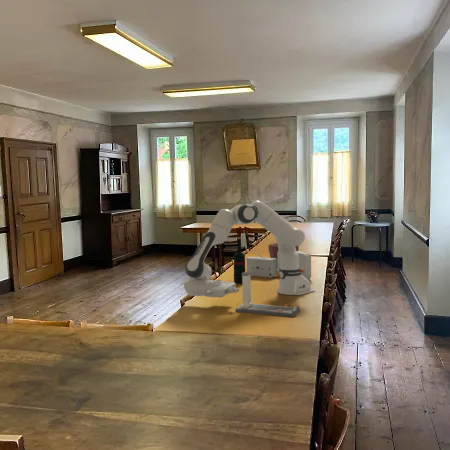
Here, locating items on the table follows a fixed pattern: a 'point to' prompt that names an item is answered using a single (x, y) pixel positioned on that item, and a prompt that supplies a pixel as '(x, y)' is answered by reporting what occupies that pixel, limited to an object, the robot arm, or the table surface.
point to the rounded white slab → (301, 263)
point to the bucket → (276, 250)
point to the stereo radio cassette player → (262, 266)
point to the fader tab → (246, 289)
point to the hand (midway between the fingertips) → (237, 290)
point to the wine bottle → (239, 263)
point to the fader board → (270, 310)
